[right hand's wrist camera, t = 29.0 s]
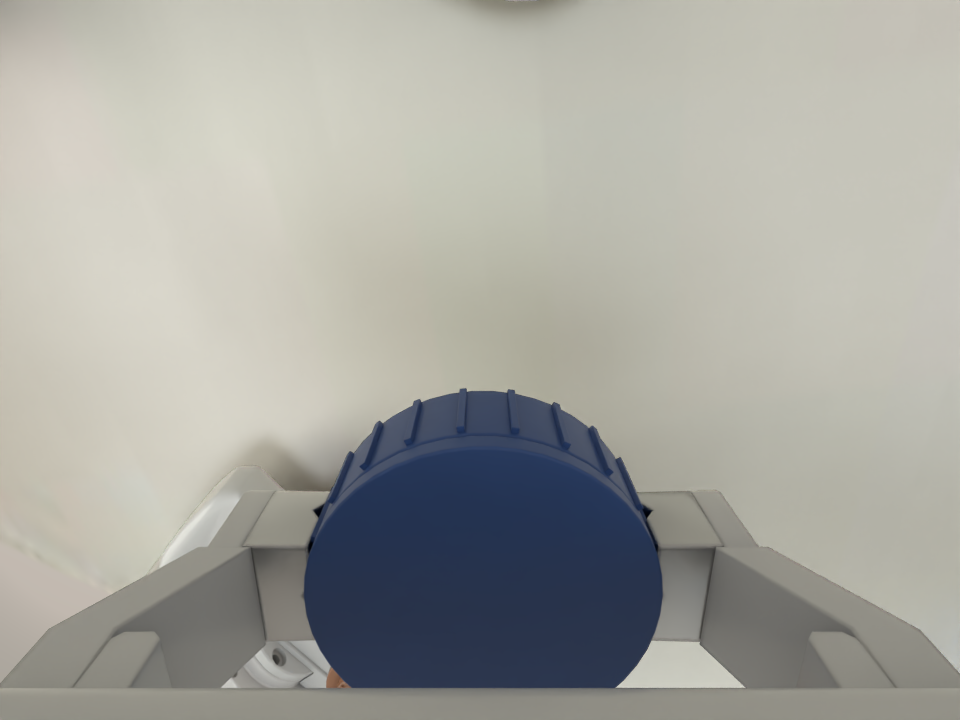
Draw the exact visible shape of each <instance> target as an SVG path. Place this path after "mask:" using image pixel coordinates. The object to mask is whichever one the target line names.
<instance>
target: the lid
mask: <svg viewBox="0 0 960 720" xmlns="http://www.w3.org/2000/svg"><path fill="white" fill-rule="evenodd" d="M642 509H643V506H642V503H641V501H640V499H639V497H638V494H637V492H636V490H635V488H634V485H633V483H632V481H631V479H630V476H629V474H628V472H627V470H626V467H625V465H624V463H623V461H622V459H621V458H620V457H619V458H617V459H615V457H614V455H613V454H612V452H611V451H610V450H609V449H608V447H607V446H606V445H605V444H604V442H603V441H602V440H601V439H600V436H599V434H598V431H597V429H596V428H595V427H594V426H591V427H590V428H588V427H587V426H586V425H584V424H583V423H582V422H580V421H579V420H577V419H576V418H575V417H573V416H572V415H570V414H568V413H566V412H564V411H562V410H561V408H560V405H559V404H557V403H555V402H553V404H552V405H550V404H547V403H545V402H542V401H540V400H537V399H534V398H530V397H526V396H522V395H518V394H515V390H510V389H508V392H507V393H504V392H496V391H469V392H467V389H466V388H465V389H460V392H459V393H454V394H448V395H444V396H440V397H436V398H432V399H429V400H426V401H424V402H421V400H420V399H418V400H416V401H414V403H413V406H411V407H409V408H407V409H405V410H403V411H402V412H400V413H398V414H396V415H394V416H393V417H391V418H390V419H388V420H387V421H386V422H384V423H382V422H381V421H379V422H377V423H376V424H375V426H374V429H373V431H372V433H371V434H370V435H369V436H368V437H367V438H366V439H365V440H364V441H363V442H362V443H361V445H360V446H359V447H358V449H357V450H356V451H355V453H352V452H351V451H350V452H349V453H348V454H347V456H346V458H345V461H344V463H343V465H342V468H341V470H340V472H339V475H338V477H337V479H336V482H335V484H334V486H333V487H332V489H331V491H330V493H329V496H328V498H327V500H326V502H325V505H324V507H323V509H322V512H321V514H320V516H319V519H318V521H317V523H316V526H315V528H314V530H313V532H312V535H311V538H310V539H311V542H313V545H312V548H311V551H310V553H309V556H308V560H307V565H306V570H305V575H304V601H305V609H306V616H307V619H308V622H309V626H310V629H311V632H312V635H313V637H314V639H315V641H316V643H317V645H318V647H319V649H320V651H321V653H322V654H323V656H324V657H325V659H326V660H327V662H328V663H329V665H330V666H331V667H332V668H333V670H334V671H335V672H336V673H337V674H338V675H339V676H340V677H341V679H342V680H343V681H344V682H345V683H347V684H348V685H349V686H350V687H351V688H616V687H617V686H618V685H619V684H620V683H621V682H622V681H623V680H624V679H625V678H626V677H627V676H628V675H629V674H630V673H631V671H632V670H633V669H634V668H635V667H636V666H637V664H638V663H639V661H640V660H641V658H642V657H643V655H644V654H645V652H646V651H647V649H648V647H649V645H650V642H651V640H652V638H653V636H654V634H655V631H656V628H657V624H658V621H659V618H660V614H661V606H662V598H663V582H662V572H661V567H660V562H659V557H658V554H657V552H656V549H655V543H654V540H653V538H652V536H651V534H650V531H649V529H648V527H647V525H646V516H645V514H644V512H643V510H642Z"/></svg>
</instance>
